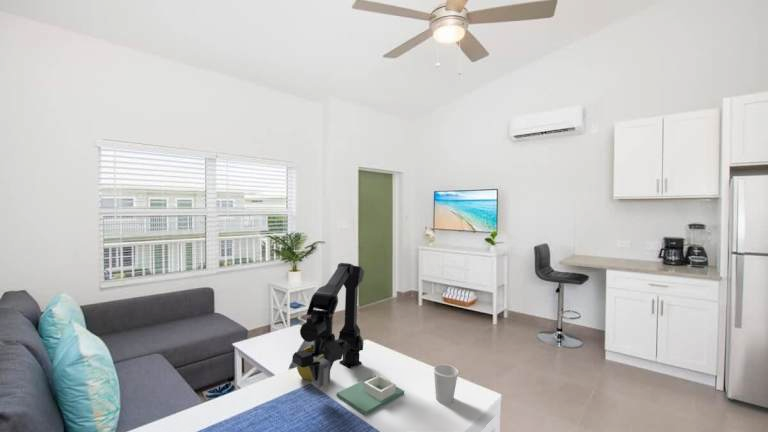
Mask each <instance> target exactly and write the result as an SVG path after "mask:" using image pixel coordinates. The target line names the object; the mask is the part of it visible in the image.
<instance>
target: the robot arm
mask: <svg viewBox="0 0 768 432" xmlns="http://www.w3.org/2000/svg"><path fill="white" fill-rule="evenodd" d="M364 275H365V270H364V269H363V268H362V266H360V265H354V264H352V263H347V262H340V263H338V264H337V267H336V269H335V271H334V273H333V274H332V276H331V277H330V279H329V280H328V282H327V283H326V284H325V285H322V286H320V287H319V288H318V289H317V290H316V291H315V292H314V294H313V295H312V296H311V299H310V303H309V304H308V308H307V311H306V315H307V316H309V317H307V318H306V322H305V323H303V324H302V325H301V327H300V329H299V334H300V337H301V339H302V340H303V341H305V342H307V343H312V342H313V344H311V345H310V347H311V349H313V352H310V353H309V352H307V351H306V350H304V349H301V350H299V351H296V352H294V353H293V354H292V363H294V364H296V366H297V365H299V366H300V367H307V366H309V369H310V371H311V373H312V376H313V378H314V380H315V381H317V377H318V366H319V364H320V362H319V361H318V356H321V355H324V359H326V360H328V361H329V362H331V365H330V371H332V370H331V369H332V367H333V365H334V363H335V362H336V361H339V364H341V365H343V366H345V367H346V368H349V369H351V368H353V367H356V366H359V365H361V364H362V361H360V352H361V351H363V350H364V343H365V342H364V340H363V338H362V335H361V329H360V327H359V325H358V324H357V323H358V322H357V321H358V297H359V296H358V292H359V287H360V286H361V284H362V282H363V278H364ZM343 286H344V288H345V297H344V298H345V300H344V301H345V302H344V304H345V305H344V325H343V327H342V328H341V329H340V331H339V333H338V334H339V336H338V338H337V339H336V336H335V335H336V334H335V333H333V322H334V321H333V320H334V314H335V312H336V308H337V307H338V304H339V297H338V294H339V292H340V291H341V290H342V288H343Z"/></svg>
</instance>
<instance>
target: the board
mask: <svg viewBox="0 0 768 432" xmlns="http://www.w3.org/2000/svg"><path fill="white" fill-rule="evenodd" d="M403 395H405V390H403V389H402V388H400V387H398V386H397V385H396V383H394V382H392V381H390V380H388V379H387V378H384V377H383V376H381V375H372V376H370V377H368V378H366V379H363V380H361V381H359V382H358V383H355V384H353V385H351V386H349V387H346V388H344V389H342V390H339V391H338V392H336V397H337V398H338V399H340V400H341V401H342V402H344V403H346V404H347V405H349V406H350V407H352V408H353V409H354V410H356V411H357V412H359V413H361V414H362V415H364V416H367V415H369V414H371V413H373V412H375V411H376V410H378V409H380V408H382V407H383V406H385V405H387V404H389V403H391V402H393V401H394V400H396V399H398V398H400V397H401V396H403Z"/></svg>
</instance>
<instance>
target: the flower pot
mask: <svg viewBox="0 0 768 432" xmlns="http://www.w3.org/2000/svg"><path fill="white" fill-rule="evenodd" d="M303 350H306V351H307V352H309V353H310V352H313V349H311V346H308V347H306V348H304V349H303ZM321 358H324V355H321V356H318V359H321ZM296 369H297V372H298V375H299V376H300V378H301V379H304V380H308V381H311V382H312V373H311V371H310V369H309V366H307V367H300V366H299V365H297V364H296Z"/></svg>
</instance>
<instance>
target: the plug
mask: <svg viewBox="0 0 768 432" xmlns="http://www.w3.org/2000/svg"><path fill="white" fill-rule="evenodd" d="M318 361H319V362H320V364H319V366H318V377H317V381H315V380H314V378H313V376H312V381H311V383H312V384H313V385H314V386H317V388H322V387H323V388H325V387H326V386H328V385H329V384H330V382H331V381H330V380H331V370H330V365H331V362H329V361H328V360H326V359H324V358H321V359H318Z"/></svg>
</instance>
